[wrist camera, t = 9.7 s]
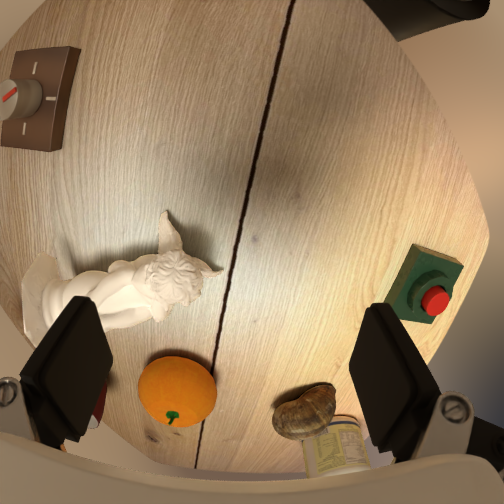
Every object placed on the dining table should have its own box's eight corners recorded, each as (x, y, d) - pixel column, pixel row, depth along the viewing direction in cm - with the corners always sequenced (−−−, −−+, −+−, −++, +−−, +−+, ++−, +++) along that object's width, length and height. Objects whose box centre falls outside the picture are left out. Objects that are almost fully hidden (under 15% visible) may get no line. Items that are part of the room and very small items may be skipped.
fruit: (133, 372, 43) (116, 420, 34) (166, 333, 39) (150, 388, 30) (192, 403, 46) (186, 451, 37) (233, 371, 43) (232, 426, 34)
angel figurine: (210, 220, 37) (239, 315, 34) (82, 271, 37) (97, 356, 34) (173, 161, 24) (209, 300, 21) (14, 241, 24) (23, 355, 21)
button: (429, 283, 32) (436, 290, 31) (447, 287, 33) (453, 295, 31) (416, 306, 34) (422, 314, 32) (434, 310, 34) (440, 317, 33)
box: (412, 243, 34) (427, 257, 30) (456, 258, 35) (471, 272, 31) (380, 307, 38) (391, 325, 34) (425, 315, 39) (436, 331, 36)
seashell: (276, 418, 49) (279, 454, 42) (265, 390, 45) (267, 431, 38) (336, 405, 48) (345, 440, 40) (333, 375, 44) (344, 414, 37)
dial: (20, 123, 24) (-6, 128, 19) (13, 91, 22) (-13, 93, 17) (46, 105, 23) (19, 107, 19) (38, 72, 21) (12, 71, 17)
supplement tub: (337, 443, 55) (350, 505, 40) (290, 440, 53) (297, 509, 38) (369, 414, 50) (390, 483, 35) (319, 410, 48) (335, 490, 33)
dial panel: (27, 53, 22) (14, 51, 19) (81, 49, 23) (69, 45, 20) (12, 142, 27) (-1, 146, 24) (61, 148, 28) (49, 152, 25)
